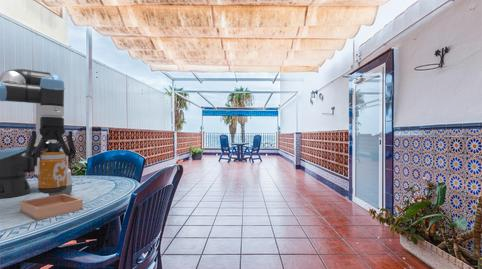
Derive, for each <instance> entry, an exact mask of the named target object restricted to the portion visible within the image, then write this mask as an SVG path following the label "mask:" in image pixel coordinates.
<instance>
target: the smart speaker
mask: <svg viewBox="0 0 482 269" xmlns="http://www.w3.org/2000/svg"><path fill="white" fill-rule="evenodd" d="M72 180H73V179H72V170H71V169H70V168H68V171H67V185H66V186H67V189H65V190H63V191H61V192H58V193H50V194H48V196H54V195H59V194H66V195H70V196H71V194H72V191H73V181H72Z"/></svg>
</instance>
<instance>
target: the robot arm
mask: <svg viewBox="0 0 482 269" xmlns="http://www.w3.org/2000/svg"><path fill="white" fill-rule="evenodd" d="M65 89H66V88H65V82H64V81H63V80H62V78H61V76H60V75H59V74H57V73H52V72H47V71H40V70H39V71H38V70H32V69H23V68H16V69H14V68H13V69H9V70H6V71H3V72H1V74H0V102H12V103H13V102H14V103H27V104H29V103H30V104H35V130H30V131H29V140H28V144H27V147H25V146H23V147H22V146H21V147H13V148H12V147H11V148H5V149H0V199H6V198H7V199H10V198H17V197H21V196H25V195H29V194H30V193H32V192H31V191H32V190H31V189H32V188H31V186H30V184H29V183H30V182H28V179H27V173H34V175H37V176H38V175H39V161H40V158H38V156H39V153H40V152H41V150H42V149H43V147H44V145H45V143H49V142H51V143H61V144H63V145H64V146H63V147H61V149H59V151H62V152H64V153H65V159H67V171H68V169H69V164H70V163H71V162H72V161H71V157H72V155H74V154H76V151H77V150H76V147H75V143H74V138H73V131H72V130H66V129H65V119H64V117H65ZM63 135H65V138H66V142H67V144H66V143H65V141H64V140H65V139H64V138H63ZM67 145H68V146H67Z"/></svg>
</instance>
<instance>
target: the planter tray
mask: <svg viewBox="0 0 482 269" xmlns="http://www.w3.org/2000/svg"><path fill="white" fill-rule="evenodd" d="M83 201H84V200H83V198H79V197H75V196H72V195H71V194H70V195H66V194H59V195H54V196H49V195H48V196H45V197H38V198H34V199H33V198H32V199H27V200H22V201H19V213H21V214H23V215H26V216H27V217H29V218H31V219H33V220H35V221H40V220H45V219H47V218H52V217H56V216H60V215H65V214H69V213H73V212H77V211H81V210H83V209H84V208H83V204H84V203H83Z"/></svg>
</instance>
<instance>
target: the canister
mask: <svg viewBox="0 0 482 269" xmlns="http://www.w3.org/2000/svg"><path fill="white" fill-rule="evenodd" d="M63 146H64V145H63V144H61V143H58V142H56V143H51V142H49V143H45V145H44V147H43V149H42V150H41V152H40V153H39V156H38V158H40V161H39V175H37V185H38V186H37V187H38V190H37V191H38V193H41V194H45V195H46V194H47V195H49V194H50V193H58V192H61V191H63V190H65V189H67V186H66V185H67V159H65V156H66V155H65V153H64V151H63V152H62V151H59V149H62V148H61V147H63Z"/></svg>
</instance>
